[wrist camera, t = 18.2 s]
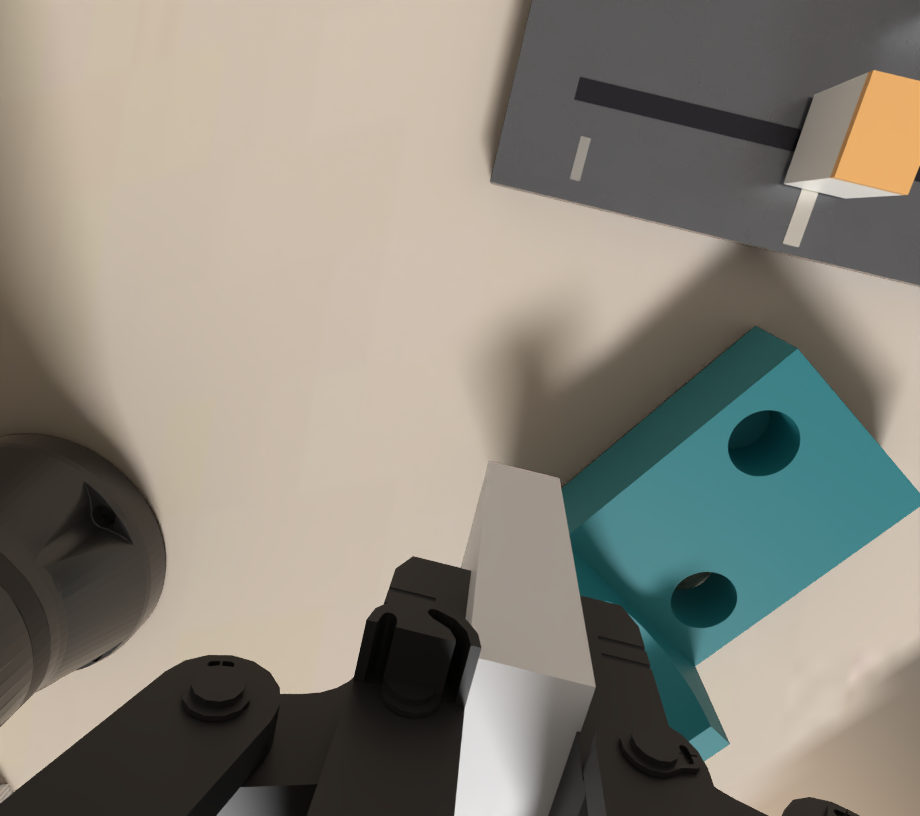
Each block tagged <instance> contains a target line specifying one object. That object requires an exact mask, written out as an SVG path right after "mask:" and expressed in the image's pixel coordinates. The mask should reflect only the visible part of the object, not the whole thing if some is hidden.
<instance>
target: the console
mask: <svg viewBox="0 0 920 816" xmlns="http://www.w3.org/2000/svg"><path fill="white" fill-rule="evenodd" d="M872 70H876V71H880V72H884V73H889V74H893V75H897V76H901V77H905V78H910V79H914V80H918V81H920V0H532V3H531V8H530V12H529V16H528V21H527V25H526V29H525V34H524V38H523V42H522V47H521V51H520V55H519V60H518V64H517V68H516V73H515V77H514V81H513V85H512V90H511V94H510V98H509V103H508V107H507V111H506V116H505V120H504V124H503V129H502V133H501V137H500V142H499V146H498V150H497V154H496V159H495V163H494V167H493V172H492V176H491V180H490V182H491V184H494V185H498V186H503V187H507V188H511V189H515V190H519V191H523V192H527V193H532V194H536V195H540V196H544V197H548V198H552V199H556V200H561V201H565V202H569V203H573V204H577V205H581V206H586V207H590V208H594V209H598V210H602V211H606V212H610V213H615V214H619V215H623V216H627V217H631V218H635V219H640V220H644V221H648V222H652V223H656V224H660V225H664V226H669V227H673V228H677V229H681V230H685V231H689V232H693V233H698V234H702V235H706V236H710V237H714V238H718V239H723V240H727V241H731V242H735V243H739V244H743V245H747V246H752V247H756V248H760V249H764V250H768V251H772V252H777V253H781V254H785V255H789V256H793V257H797V258H801V259H806V260H810V261H814V262H818V263H822V264H826V265H830V266H835V267H839V268H843V269H847V270H851V271H855V272H860V273H864V274H868V275H872V276H876V277H880V278H884V279H889V280H893V281H897V282H901V283H905V284H909V285H914V286H918V287H920V166H919V168H918V171H917V174H916V176H915V179H914V181H913V184H912V186H911V189H910V191H909V194H908V195H898V196H881V197H864V198H847V199H845V198H841V197H836V196H832V195H828V194H824V193H820V192H816V191H811V190H807V189H803V188H799V187H795V186H791V185H786V184H784V181H785V178H786V175H787V172H788V169H789V166H790V164H791V161H792V158H793V155H794V152H795V149H796V146H797V143H798V140H799V138H800V135H801V132H802V129H803V126H804V123H805V120H806V117H807V115H808V112H809V109H810V106H811V103H812V100H813V97H814V94H817V93H819V92H822V91H824V90H826V89H829V88H831V87H834V86H836V85H838V84H841V83H843V82H846V81H848V80H851V79H853V78H855V77H858V76H860V75H863V74H865V73H868V72H870V71H872Z"/></svg>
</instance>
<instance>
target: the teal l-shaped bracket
mask: <svg viewBox="0 0 920 816" xmlns="http://www.w3.org/2000/svg"><path fill="white" fill-rule="evenodd" d="M561 490H562V495H563V501H564V507H565V513H566V518H567V524H568V530H569V536H570V541H571V547H572V553H573V559H574V564H575V570H576V576H577V582H578V588H579V593H580V595H581V596H585V597H589V598H593V599H597V600H601V601H605V602H609V603H613V604H617V605H621V606H622V607H623V609H624V610H625V611H626V612H627V613H628V614H629V616H630V617H631V618H632V619H633V620H634V622H635V623H636V624H637V625H638V626H639V629H640V633H641V636H642V639H643V642H644V646H645V650H644V651H646V652H647V656H648V659H649V662H650V669H651V670H652V672H653V675H654V679H655V682H656V685H657V688H658V692H659V695H660V698H661V702H662V705H663V708H664V711H665V715H666V718H667V721H668V725H669V727H671V728H672V729H674V730H675V731H677V732H678V733H680V734H681V735H683V736H684V737H685V738H686V739H687V740H688V741H689V742H690V744H691V745H692V746H693V747H694V748H695V749H696V750H697V751H698V752H699V754H700V756H701V757H702V759H703V761H705V760H707V759H708V758H710V757H711V756H713V755H714V754H716V753H717V752H719V751H720V750H722V749H723V748H725V747H726V746H728V745H729V744H730V743H729V741H728V739H727V737H726V734H725V732H724V730H723V728H722V725H721V723H720V721H719V719H718V716H717V714H716V712H715V710H714V708H713V705H712V703H711V701H710V699H709V696H708V694H707V692H706V690H705V687H704V685H703V683H702V681H701V679H700V676H699V674H698V672H697V670H696V667H695V666H696V665H698V664H699V663H701V662H702V661H703V660H705V659H706V658H708V657H709V656H710V655H712V654H713V653H715V652H716V651H717V650H719V649H720V648H722V647H723V646H724V645H726V644H727V643H729V642H730V641H731V640H733V639H734V638H736V637H737V636H738V635H740V634H741V633H743V632H744V631H746V630H747V629H748V628H750V627H751V626H753V625H754V624H755V623H757V622H758V621H760V620H761V619H762V618H764V617H765V616H767V615H768V614H769V613H771V612H772V611H774V610H775V609H776V608H778V607H779V606H781V605H782V604H783V603H785V602H786V601H788V600H789V599H790V598H792V597H793V596H795V595H796V594H798V593H799V592H800V591H802V590H803V589H805V588H806V587H807V586H809V585H810V584H812V583H813V582H814V581H816V580H817V579H819V578H820V577H821V576H823V575H824V574H826V573H827V572H828V571H830V570H831V569H833V568H834V567H835V566H837V565H838V564H840V563H841V562H842V561H844V560H845V559H847V558H848V557H850V556H851V555H852V554H854V553H855V552H857V551H858V550H859V549H861V548H862V547H864V546H865V545H866V544H868V543H869V542H871V541H872V540H873V539H875V538H876V537H878V536H879V535H880V534H882V533H883V532H885V531H886V530H887V529H889V528H890V527H892V526H893V525H894V524H896V523H897V522H899V521H900V520H902V519H903V518H904V517H906V516H907V515H909V514H910V513H911V512H913V511H914V510H916V509H917V508H918V507H920V493H919V492H918V490H917V489H916V488H915V487H914V486H913V485H912V483H911V482H910V481H909V480H908V479H907V477H906V476H905V475H904V474H903V473H902V471H901V470H900V469H899V468H898V467H897V466H896V464H895V463H894V462H893V461H892V460H891V458H890V457H889V456H888V455H887V454H886V453H885V451H884V450H883V449H882V448H881V447H880V445H879V444H878V443H877V442H876V441H875V439H874V438H873V437H872V436H871V435H870V434H869V432H868V431H867V430H866V429H865V428H864V426H863V425H862V424H861V423H860V422H859V421H858V419H857V418H856V417H855V416H854V415H853V413H852V412H851V411H850V410H849V409H848V408H847V406H846V405H845V404H844V403H843V402H842V400H841V399H840V398H839V397H838V396H837V394H836V393H835V392H834V391H833V390H832V389H831V387H830V386H829V385H828V384H827V383H826V381H825V380H824V379H823V378H822V377H821V376H820V374H819V373H818V372H817V371H816V370H815V368H814V367H813V366H812V365H811V364H810V362H809V361H808V360H807V359H806V358H805V357H804V355H803V354H802V353H801V352H800V351H799V349H798V348H796V347H794V346H792V345H790V344H788V343H786V342H785V341H783V340H781V339H779V338H777V337H775V336H773V335H772V334H770V333H768V332H766V331H764V330H762V329H760V328H759V327H757V326H755V327H754V328H752V329H751V330H750V331H749V332H748V333H746V334H745V335H744V336H743V337H742V338H740V339H739V340H738V341H737V342H736V343H734V344H733V345H732V346H731V347H730V348H728V349H727V350H726V351H725V352H724V353H722V354H721V355H720V356H719V357H718V358H716V359H715V360H714V361H713V362H712V363H711V364H709V365H708V366H707V367H706V368H705V369H703V370H702V371H701V372H700V373H699V374H697V375H696V376H695V377H694V378H693V379H691V380H690V381H689V382H688V383H687V384H685V385H684V386H683V387H682V388H681V389H679V390H678V391H677V392H676V393H675V394H674V395H672V396H671V397H670V398H669V399H668V400H666V401H665V402H664V403H663V404H662V405H660V406H659V407H658V408H657V409H656V410H654V411H653V412H652V413H651V414H650V415H648V416H647V417H646V418H645V419H644V420H642V421H641V422H640V423H639V424H638V425H637V426H635V427H634V428H633V429H632V430H631V431H629V432H628V433H627V434H626V435H625V436H623V437H622V438H621V439H620V440H619V441H617V442H616V443H615V444H614V445H613V446H611V447H610V448H609V449H608V450H607V451H605V452H604V453H603V454H602V455H601V456H599V457H598V458H597V459H596V460H595V461H594V462H592V463H591V464H590V465H589V466H588V467H586V468H585V469H584V470H583V471H582V472H580V473H579V474H578V475H577V476H576V477H574V478H573V479H572V480H571V481H570V482H568V483H567V484H566V485H565V486H564V487H562V488H561ZM700 572H712V573H711V574H710V576H709V577H708V578H707V579H706V580H705V581H704V582H703V583H701V584H700V585H698V586H696V587H693V588H690V589H683V590H679V589H675V588H676V587H677V585H678V584H679V583H680V582H681V581H682V580H684V579H685V578H687V577H689V576H691V575H693V574H696V573H700Z"/></svg>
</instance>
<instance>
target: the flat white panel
mask: <svg viewBox="0 0 920 816" xmlns="http://www.w3.org/2000/svg"><path fill="white" fill-rule="evenodd" d="M12 792H13V791H12V790H11V788H10V786H9V784H8V783H7V784H3V785H0V803H1V802H2V801H4V800H5V799H6V798H7V797H9V796H10V795H11V794H12Z"/></svg>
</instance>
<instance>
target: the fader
mask: <svg viewBox="0 0 920 816" xmlns="http://www.w3.org/2000/svg"><path fill="white" fill-rule="evenodd" d="M919 166H920V81H918V80H914V79H910V78H905V77H901V76H897V75H893V74H889V73H884V72H880V71H876V70H872V71H870V72H868V73H865V74H863V75H860V76H858V77H855V78H853V79H851V80H848V81H846V82H843V83H841V84H838V85H836V86H834V87H831V88H829V89H826V90H824V91H822V92H819V93H817V94H814V97H813V100H812V103H811V106H810V109H809V112H808V115H807V117H806V120H805V123H804V126H803V129H802V132H801V135H800V138H799V140H798V143H797V146H796V149H795V152H794V155H793V158H792V161H791V164H790V166H789V169H788V172H787V175H786V178H785V181H784V184H786V185H791V186H795V187H799V188H803V189H807V190H811V191H816V192H820V193H824V194H828V195H832V196H836V197H841V198H845V199H847V198H864V197H881V196H898V195H908V194H909V191H910V189H911V186H912V184H913V181H914V179H915V176H916V174H917V171H918V168H919Z"/></svg>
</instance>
